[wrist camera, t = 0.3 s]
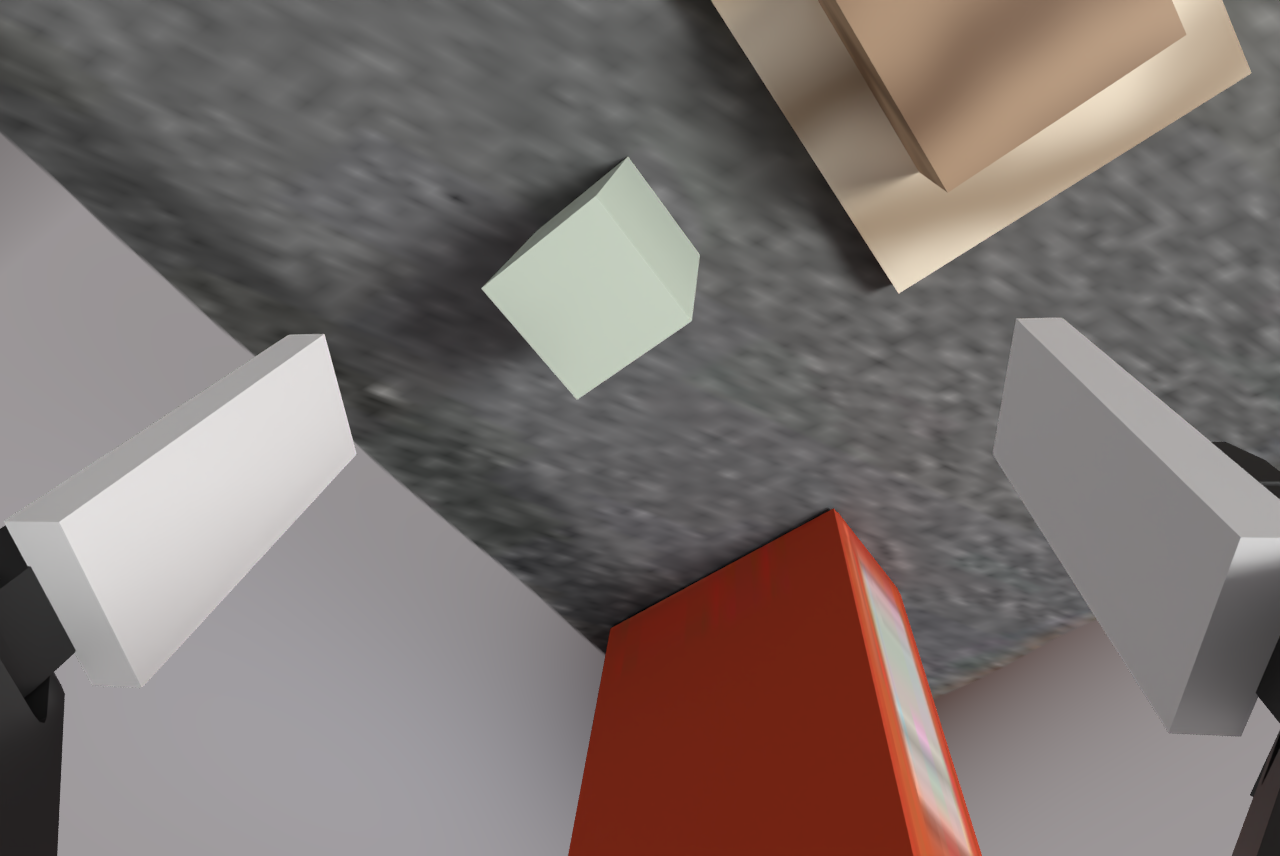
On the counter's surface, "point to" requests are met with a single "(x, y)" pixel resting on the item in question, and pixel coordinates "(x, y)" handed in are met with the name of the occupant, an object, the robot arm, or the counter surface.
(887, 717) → the file binder
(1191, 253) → the counter surface
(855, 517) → the counter surface
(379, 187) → the counter surface
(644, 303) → the sage pillar
